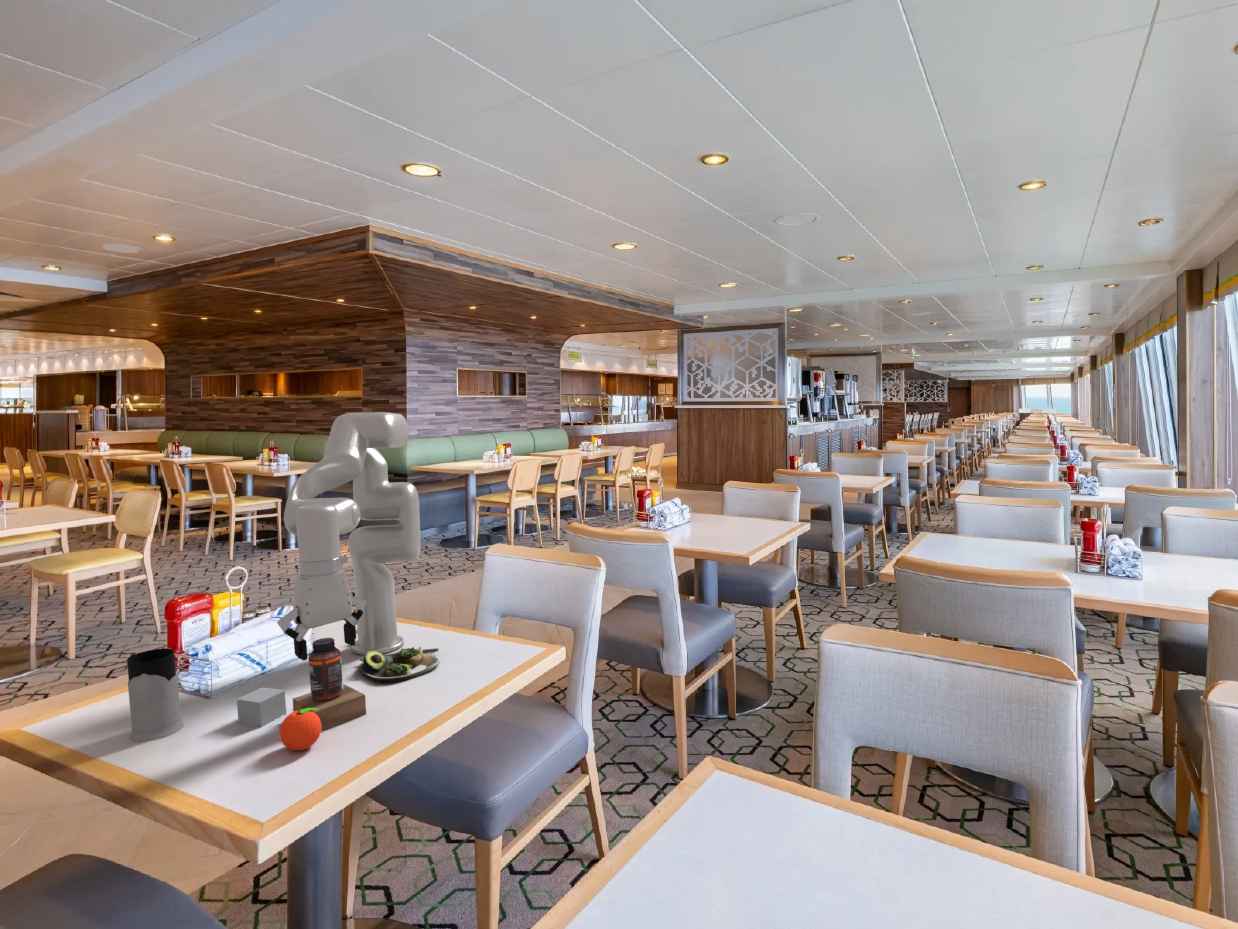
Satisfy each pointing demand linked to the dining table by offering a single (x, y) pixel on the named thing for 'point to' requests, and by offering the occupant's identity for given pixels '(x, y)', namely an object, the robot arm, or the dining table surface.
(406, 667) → the salad plate
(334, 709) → the walnut block
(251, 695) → the grey block
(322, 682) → the supplement bottle
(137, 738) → the glass holder
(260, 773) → the dining table surface
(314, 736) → the clementine
